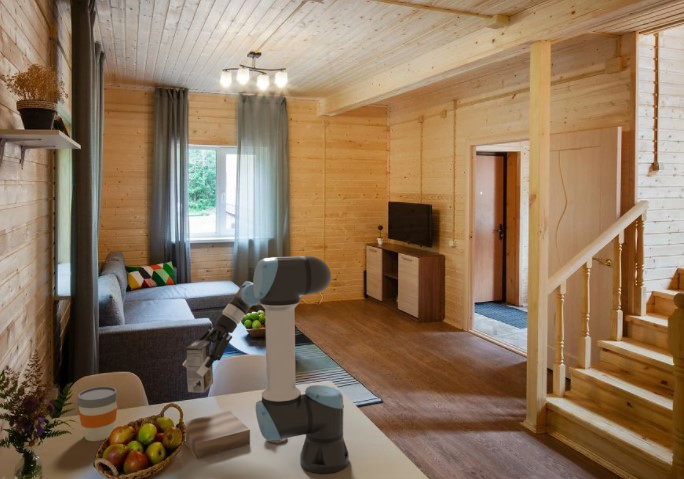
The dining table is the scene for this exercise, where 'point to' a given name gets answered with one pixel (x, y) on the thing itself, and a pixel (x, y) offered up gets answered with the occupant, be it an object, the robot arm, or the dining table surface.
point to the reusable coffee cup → (97, 412)
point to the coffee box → (198, 366)
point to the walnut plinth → (215, 434)
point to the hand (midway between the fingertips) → (192, 370)
